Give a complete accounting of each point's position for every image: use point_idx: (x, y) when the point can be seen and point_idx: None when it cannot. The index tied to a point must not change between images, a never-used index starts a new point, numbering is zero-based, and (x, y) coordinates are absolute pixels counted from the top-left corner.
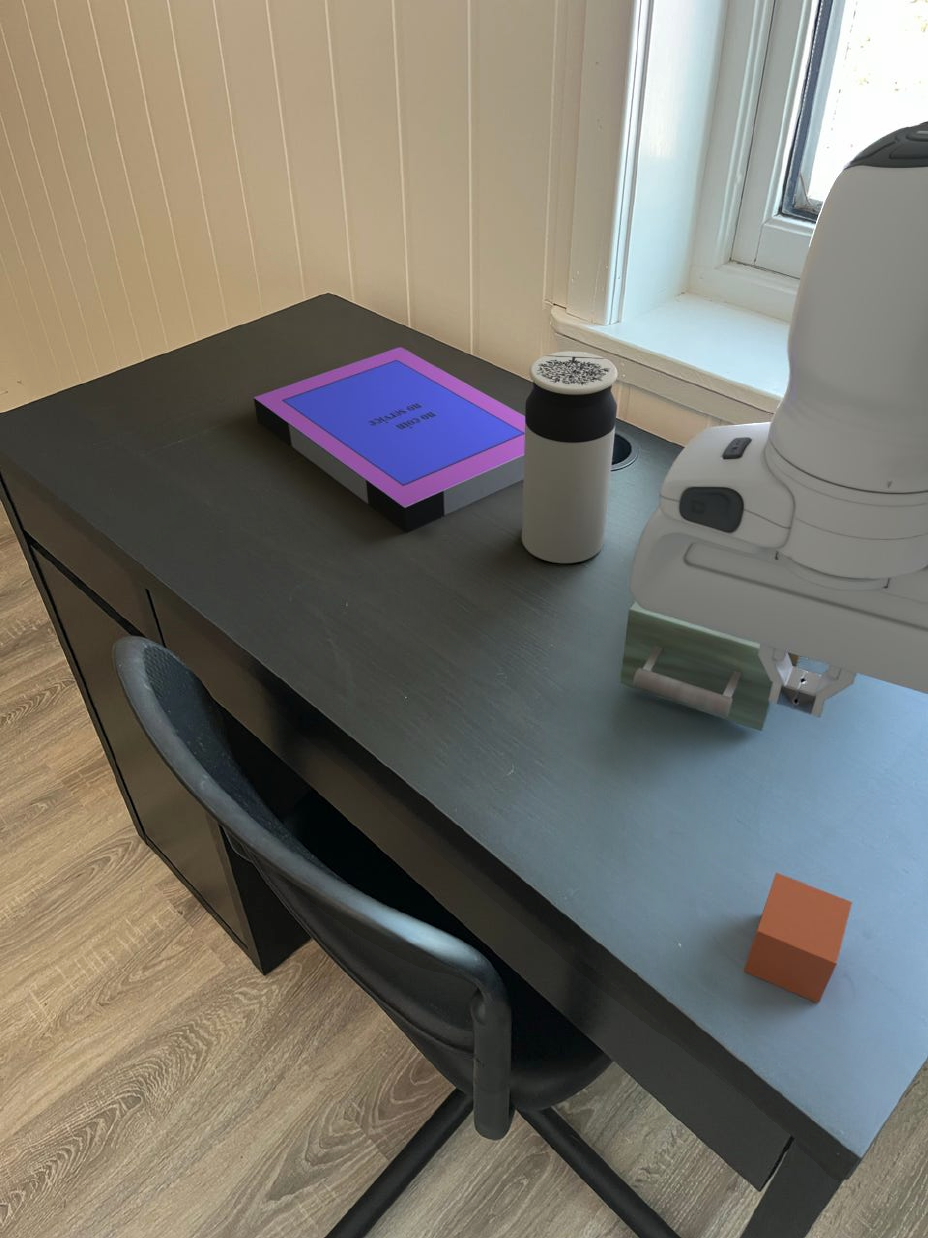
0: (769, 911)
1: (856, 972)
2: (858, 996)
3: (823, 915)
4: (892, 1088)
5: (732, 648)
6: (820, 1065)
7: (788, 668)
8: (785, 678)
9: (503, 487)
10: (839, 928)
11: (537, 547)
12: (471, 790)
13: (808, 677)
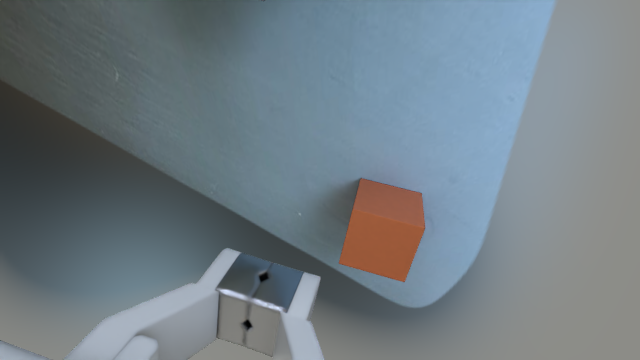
0: (348, 246)
1: (438, 214)
2: (436, 232)
3: (396, 244)
4: (451, 286)
5: None
6: None
7: (209, 314)
8: (211, 333)
9: None
10: (409, 254)
11: None
12: (101, 108)
13: (257, 317)
